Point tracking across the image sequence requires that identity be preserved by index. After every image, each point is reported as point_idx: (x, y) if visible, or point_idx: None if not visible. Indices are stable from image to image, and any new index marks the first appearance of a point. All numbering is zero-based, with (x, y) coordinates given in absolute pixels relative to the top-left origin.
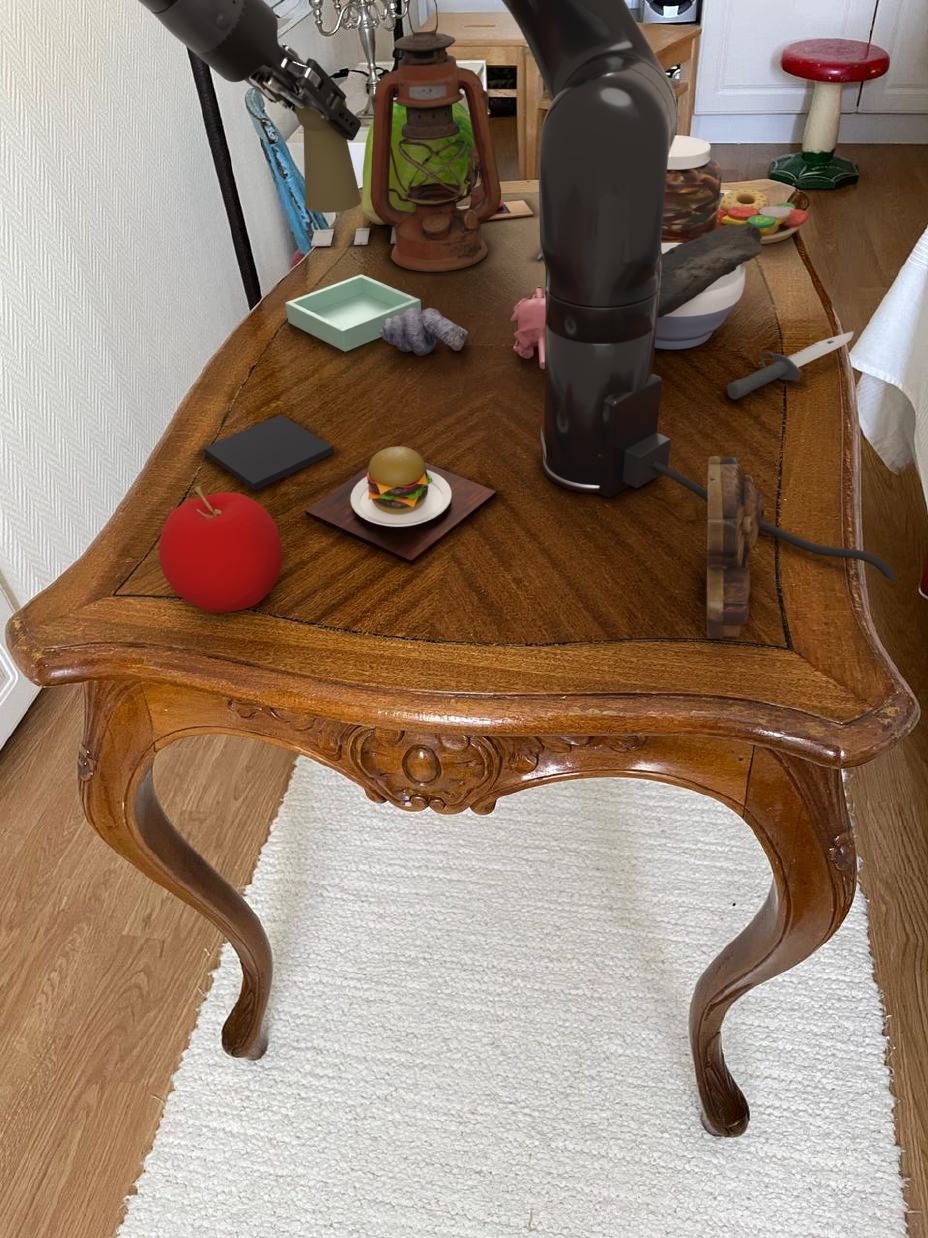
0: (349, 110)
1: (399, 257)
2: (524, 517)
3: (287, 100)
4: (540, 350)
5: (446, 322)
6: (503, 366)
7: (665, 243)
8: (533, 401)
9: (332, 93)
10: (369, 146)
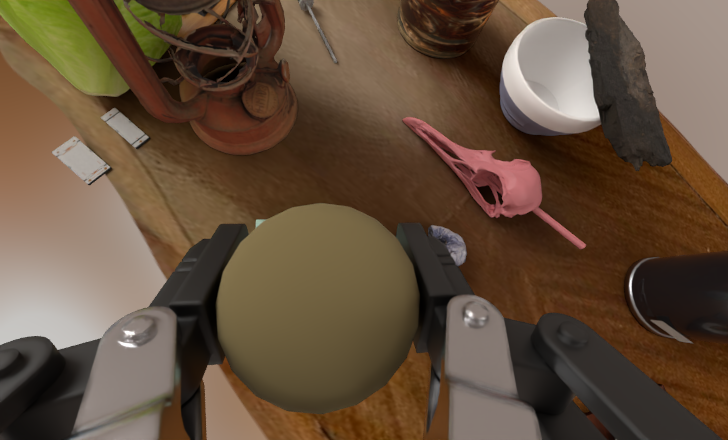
0: (435, 252)
1: (229, 147)
2: (690, 385)
3: (202, 411)
4: (562, 230)
5: (460, 253)
6: (490, 234)
7: (523, 31)
8: (554, 259)
9: (557, 373)
10: (8, 3)
